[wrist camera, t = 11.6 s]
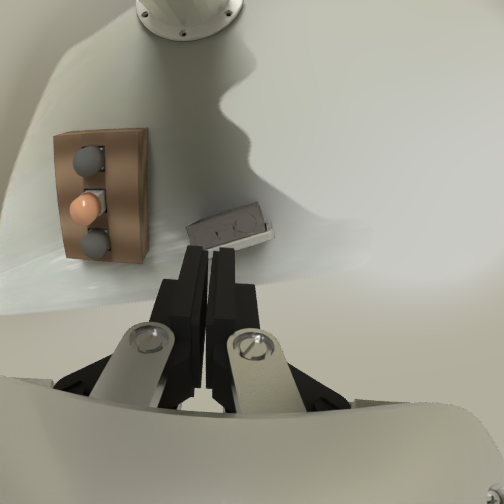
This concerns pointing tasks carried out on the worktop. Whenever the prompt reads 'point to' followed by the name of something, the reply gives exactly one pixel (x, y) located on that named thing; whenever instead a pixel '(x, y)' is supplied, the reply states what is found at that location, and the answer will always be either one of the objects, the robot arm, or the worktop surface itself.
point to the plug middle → (88, 206)
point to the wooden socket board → (117, 191)
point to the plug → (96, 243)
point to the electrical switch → (231, 229)
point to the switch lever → (89, 160)
